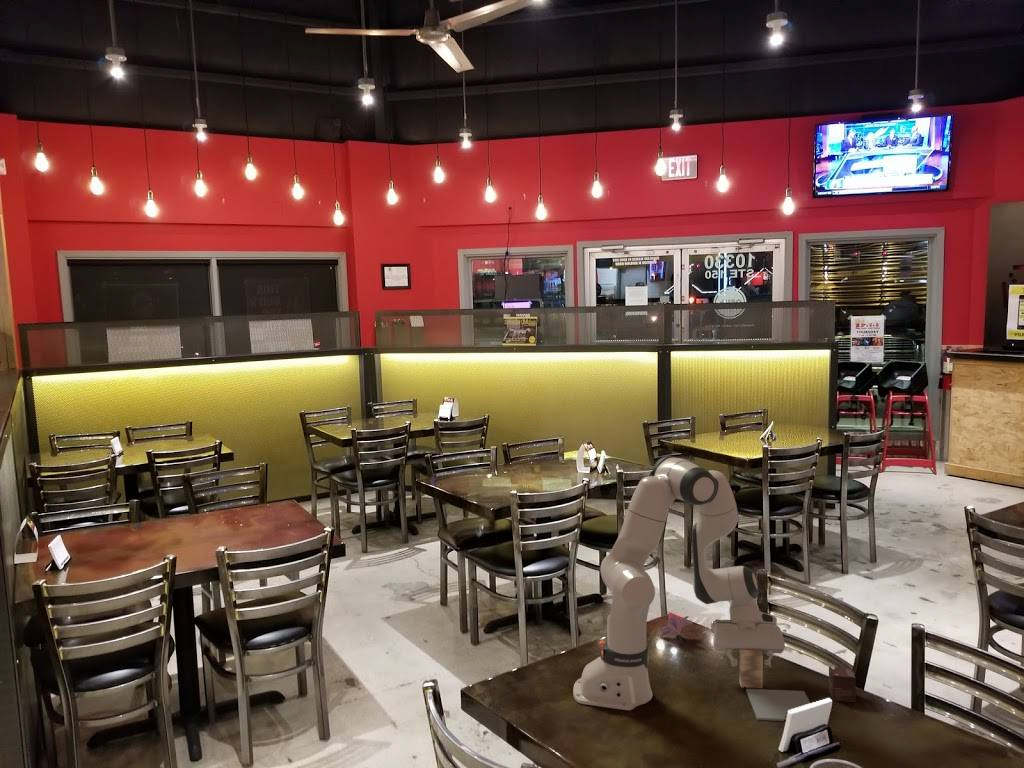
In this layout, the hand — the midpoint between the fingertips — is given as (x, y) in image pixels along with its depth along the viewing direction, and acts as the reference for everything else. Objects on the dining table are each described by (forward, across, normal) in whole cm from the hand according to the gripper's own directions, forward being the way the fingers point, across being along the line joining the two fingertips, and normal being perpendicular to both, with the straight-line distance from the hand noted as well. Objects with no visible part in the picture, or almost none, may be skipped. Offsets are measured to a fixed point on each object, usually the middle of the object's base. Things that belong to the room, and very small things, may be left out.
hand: (751, 666), depth 218 cm
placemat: (+12, +6, -4) cm, 14 cm away
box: (+7, +24, +2) cm, 25 cm away
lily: (-17, -19, +26) cm, 36 cm away
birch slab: (+4, 0, +5) cm, 6 cm away
